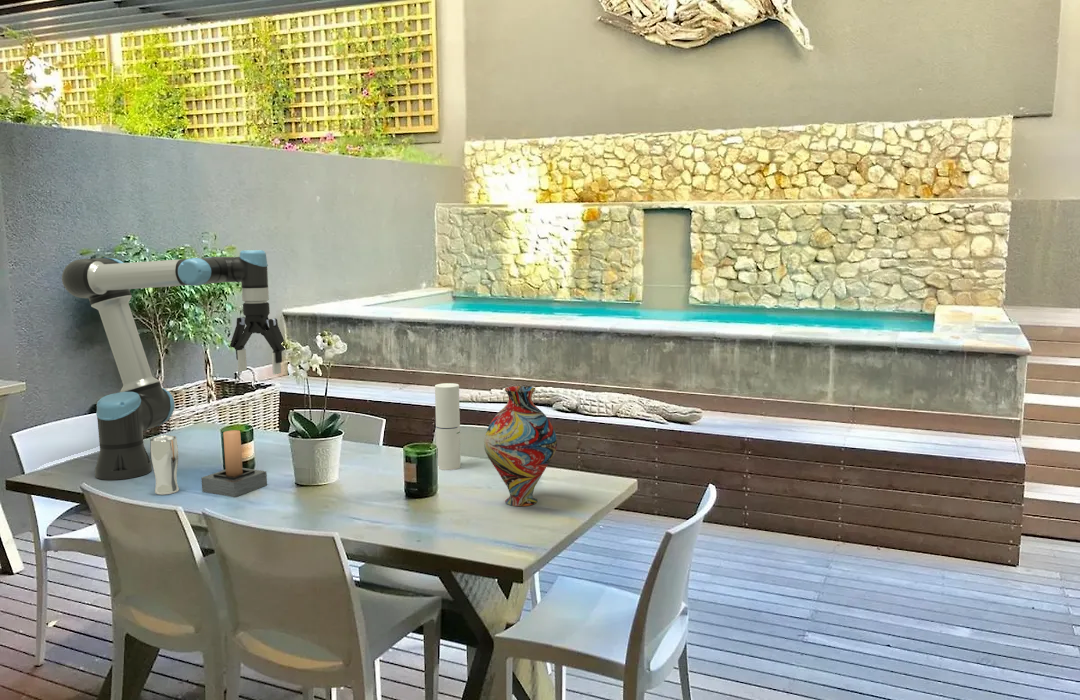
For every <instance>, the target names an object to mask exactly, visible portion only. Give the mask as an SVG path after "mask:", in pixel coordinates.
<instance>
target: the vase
mask: <svg viewBox="0 0 1080 700" xmlns="http://www.w3.org/2000/svg"><path fill="white" fill-rule="evenodd" d="M504 391H505V393H506V394H507V396H508V401H507V403H506V404H505V405H504V406H503V408H501V409H500V410H499V411H498V412H497V413H496V414H495V416H493V418H492V420H491V421H490V424H488V427H487V430H486V432H485V434H484V435H485V436H484V441H483V442H484V445H483V446H484V447H483V449H484V451H485V454H486V455H487V458H488V459H489V460H490V462H491V464H492V465H493V468H494V469H495V470H496V471H497V473H498V474H499V475H498V476H500V478H501V480H502V481H503V482H504V485H505V486H506V487H507V490H508V493H509V496H508V497H507V498H506V500H505V501H504V502H505V504H507V505H510V506H513V507H529V506H532V505H535V504H537V503H538V499H537V498H535V497H534V496H533V495H534V494H533V493H534V491H535V488H536V486H537V484H538V482H539V480H540V479H541V477H542V475H543V474H544V472H545V470H546V469H547V468H548V466H549V464H550V463H551V461H552V459H553V458H554V456H555V453H556V452H557V448H558V442H557V441H558V440H557V435H556V431H555V429H554V426H553V425H552V422H551V421H550V420H549V419H550V418H548V417H547V415H546V414H545V413H544V412H543V411H542V410H541V409H539V408H538V407H537V406H536V405H535V404H534V402H533V394H534V392H535V391H536V387H534V386H529V385H516V386H507V387H505V388H504Z"/></svg>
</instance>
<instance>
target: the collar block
mask: <svg viewBox="0 0 1080 700" xmlns="http://www.w3.org/2000/svg"><path fill="white" fill-rule="evenodd" d="M242 469H243V474H241V475H238V476H235V477H233V476H226V469H224V470H220V471H218V472H217V471H216V472H213V473H211V474H208V475H205V476H202V477H201V491H202V493H209V494H214V495H219V496H227V497H231V498H232V497H233V498H237V497H239V496H242V495H245V494H247V493H250V492H252V491H255V490H258V489H260V488H261V489H262V488H263V487H266V486H267V485H268V481H267V480H268V478H267V471H265V470H261V469H260V470H259V469H253V468H245V467H242Z"/></svg>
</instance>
